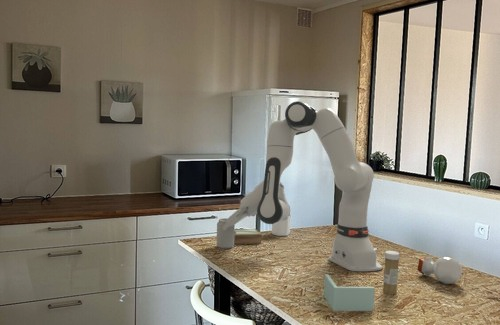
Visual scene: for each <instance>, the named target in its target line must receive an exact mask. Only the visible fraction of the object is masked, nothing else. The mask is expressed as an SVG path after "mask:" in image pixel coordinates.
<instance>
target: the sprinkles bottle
mask: <svg viewBox="0 0 500 325" xmlns="http://www.w3.org/2000/svg"><path fill="white" fill-rule="evenodd" d="M384 252H385V253H384V270H383V285H382V286H383V287H382V292H383V293H384V294H388V295H396V294H397V293H398V290H397V289H398V281H399V280H398V278H399V262H400V261H399V260H400V257H401V256H400V252H398V251H397V250H396V251H395V250H385V251H384Z"/></svg>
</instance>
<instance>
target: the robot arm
mask: <svg viewBox="0 0 500 325" xmlns="http://www.w3.org/2000/svg"><path fill="white" fill-rule="evenodd" d="M284 116H285V117H284V118H285V119H283V120H275V121H273V122H272V123H271V124H270V126H269V128H268V132H267V140H266V159H265V170H264V178H263V180H262V181H261V182H259V183H258V185H257V186H255V187H254V189H253V190H252V191H250V192H248V194H246V195H245V196H244V197H243V198H242V199H241V200H240V205H239V208H238V209H237V210H236V211H234V212H233V213H232V214H231V215H230V216H229V217H227V220H226V221H227V223H226V224H225V225H224V226H223V227H222V228H223V229H224V230H226V229H227V228H228V227H230V226H233V225H236V224H238V223H240V222H241V221H242V220H244V219H245V218H247V217H255V216H258V218H259V220H260V221H261V222H262V223H264V224H268V225H272V224H274V223H276V222H280V221H284V220H285V219H287V218H288V216H289V214H290V215H291V206H290V205H289V203H288V201H287V200H288V199H287V198H286V195H285V194H286V193H285V186H284V185H283V183H282V182H281V177H282V175H283V172H284V171H285V170H286V169H287V168H288V167H289V166H290V165H291V164H292V160H293V155H294V139H295V136H298V135H300V134H304V133H308V132H310V131H312V130H313V131H314V132H315V133H316V135H317V137H318V139H319V141H320V143H321V145H322V146H323V148H324V151H325V152H326V155H327V156H328V159H329V163H330V166H331V169H332V173H333V175H334V184H335V186H336V187H337V188H338V190H340V191H342V196H341V199H340V202H339V206H338V223H337V224H336V225H337V226H336V233H337V234H336V236H335V237H334V238H333V242H332V246H331V247H332V248H331V255H330V256H328V258H327V259H328V261H330V262H332V263H334V264H335V265H337V266H340V267H341V268H344V269H346V270H348V271H351V272H376V271H380V270H383V266H382V265H381V264H380V262H379V261H378V260H377V254H378V249H377V248H376V247H374V245H373V243H372V242H371V240H370V238H369V234H370V233H369V232H370V231H369V228H368V225H367V224H368V223H367V221H368V209H369V208H368V206H369V202H370V197H371V190H372V185H373V181H374V177H375V175H374V174H375V173H374V170H373V168H372V167H371V166H370V165H369V164H368V163H365V162H361V161H359V160H358V157H357V154H356V151H355V145H354V143H353V140H352V138H351V137H350V135H349V133H348V132H347V129H346V127H345V126H344V123H343V122H342V121H341V119H340V117H339V116H338V114H337V113H335V111H334V110H332V109H331V108H330V107H328V108H327V107H326V108H321V109H318V110H316V109H315V108H314V107H313V106H310V105H309V104H308V103H305V102H304V101H299V100H298V101H293V102H291V103H290V104H288V106H286V109H285V112H284Z"/></svg>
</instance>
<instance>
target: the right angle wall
mask: <svg viewBox="0 0 500 325" xmlns="http://www.w3.org/2000/svg"><path fill="white" fill-rule="evenodd" d="M323 280H324V282H323V283H324V284H323V296H324V299H325V300H326V301H327V303H328V305H329V306H330V308H331V310H332V311H333V312H343V311H344V312H349V311H350V312H357V311H358V312H360V311H361V312H362V311H363V312H370V311H371V312H374V309H375V308H374V307H375V293H376V292H375V289H376V288H375V287H374V286H338V285H337V284H336V282H334V280H333V279H332V278H331V276H330V275H329V274H328V273H327V274H326V273H325V274H324V279H323Z"/></svg>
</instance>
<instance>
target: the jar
mask: <svg viewBox="0 0 500 325" xmlns="http://www.w3.org/2000/svg"><path fill="white" fill-rule="evenodd" d="M271 234H272V235H273V236H276V237H280V236H281V237H285V236H286V237H288V235H290V234H291V213H290V214H289V216H288V218H287V219H285V220H284V221H280V222H276V223H274V224H271Z"/></svg>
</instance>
